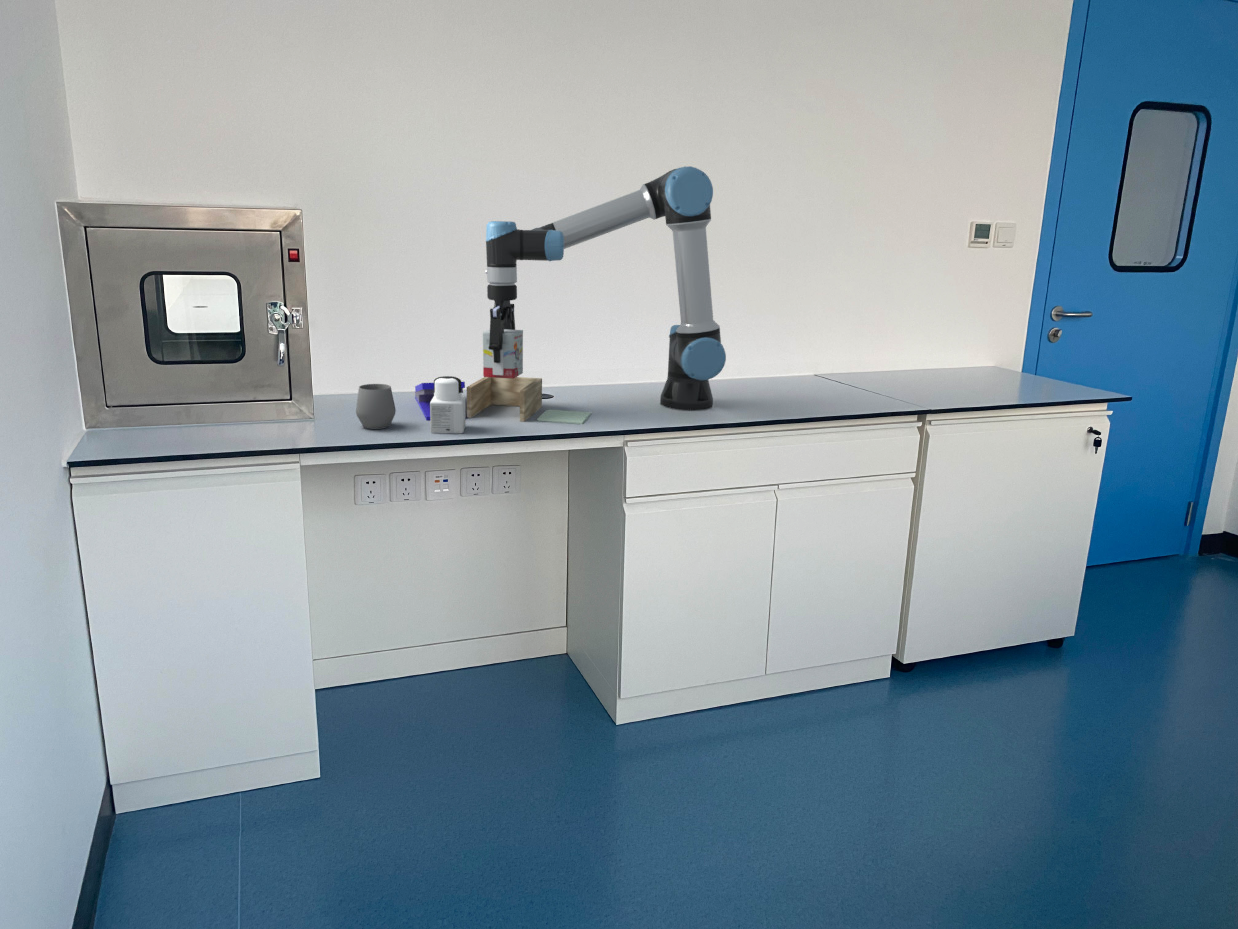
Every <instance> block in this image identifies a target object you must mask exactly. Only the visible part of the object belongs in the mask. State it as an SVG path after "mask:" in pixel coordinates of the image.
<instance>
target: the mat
mask: <svg viewBox="0 0 1238 929" xmlns="http://www.w3.org/2000/svg"><path fill="white" fill-rule="evenodd" d="M591 415H592V412H589V411H588V412H587V411H574V410H559V409H547V410H545V412H543V413H542V414H541V415H540V416H538V418H537V419H536V421H538V422H549V423H560V424H562V423H563V424H574V425H575V424H577V425H583V423H585V421H586V420H587V419H588V418H589V417H590V416H591Z"/></svg>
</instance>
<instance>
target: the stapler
mask: <svg viewBox="0 0 1238 929" xmlns="http://www.w3.org/2000/svg"><path fill="white" fill-rule="evenodd" d="M465 382H466V381H461V394H464V389H466V383H465ZM414 388H415V391H414V398H415V400H416V403H417V404H418V406H419V408H420V410H421V412H422V415H423V416H424V418H425V420H426V421H427V422H428V421H429V422H430V402H431V400H432V399H433V397H434V382H422V383H419V384H416V385H415V386H414ZM466 418H467V414H465V420H466Z"/></svg>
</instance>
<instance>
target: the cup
mask: <svg viewBox="0 0 1238 929" xmlns="http://www.w3.org/2000/svg"><path fill="white" fill-rule="evenodd" d="M392 390H393V389H392V386H391V385H389V384H385V383H367V384H362V385H359V386H358V391H357V398H356V408H355V413H356V417H357V418H358V420H359V421H360V424H361V426H363V427H364V428H366V429H370V430H380V429H381V430H382V429H385V428H388V427H390V426H391V424H392V422H393V420H394V418H395V415H396V411H397V410H396V404H395V400H394V396H393V391H392Z"/></svg>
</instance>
